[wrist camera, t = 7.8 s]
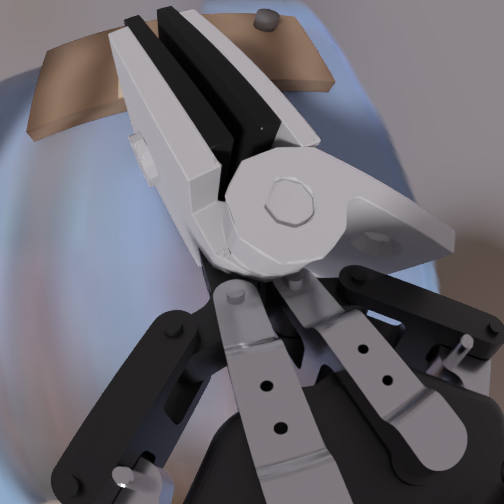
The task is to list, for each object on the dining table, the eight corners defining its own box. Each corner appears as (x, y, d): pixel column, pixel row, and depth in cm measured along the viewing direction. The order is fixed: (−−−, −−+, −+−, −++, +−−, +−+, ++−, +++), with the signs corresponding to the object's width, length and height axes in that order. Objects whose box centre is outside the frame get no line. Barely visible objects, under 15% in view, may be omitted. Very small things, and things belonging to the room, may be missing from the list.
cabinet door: (34, 141, 15) (17, 120, 12) (51, 61, 16) (42, 40, 13) (328, 92, 20) (343, 69, 17) (290, 26, 21) (299, 5, 18)
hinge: (331, 282, 16) (462, 238, 7) (269, 348, 15) (367, 392, 5) (181, 129, 17) (175, -1, 7) (115, 176, 16) (56, 56, 6)
